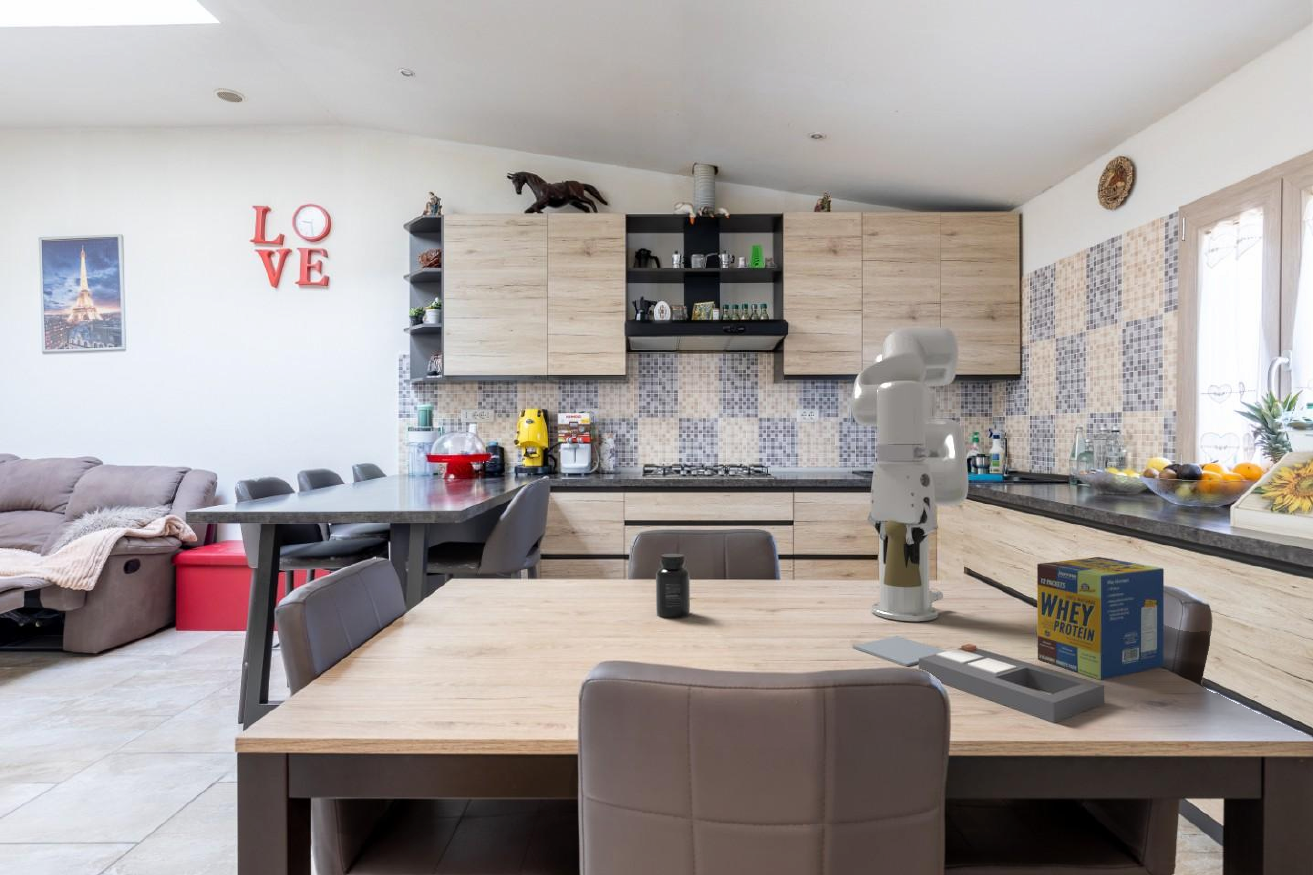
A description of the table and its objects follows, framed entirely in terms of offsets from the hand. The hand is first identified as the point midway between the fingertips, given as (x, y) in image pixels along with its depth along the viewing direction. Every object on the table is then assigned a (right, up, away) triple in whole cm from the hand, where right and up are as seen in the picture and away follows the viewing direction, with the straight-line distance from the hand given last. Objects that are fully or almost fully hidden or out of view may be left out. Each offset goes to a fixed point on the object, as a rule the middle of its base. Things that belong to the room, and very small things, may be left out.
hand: (901, 564), depth 113 cm
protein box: (+29, -15, -6) cm, 33 cm away
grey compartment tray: (+9, -14, -17) cm, 24 cm away
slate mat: (0, -15, 0) cm, 15 cm away
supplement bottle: (-37, -15, +24) cm, 47 cm away
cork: (0, -3, 0) cm, 3 cm away
